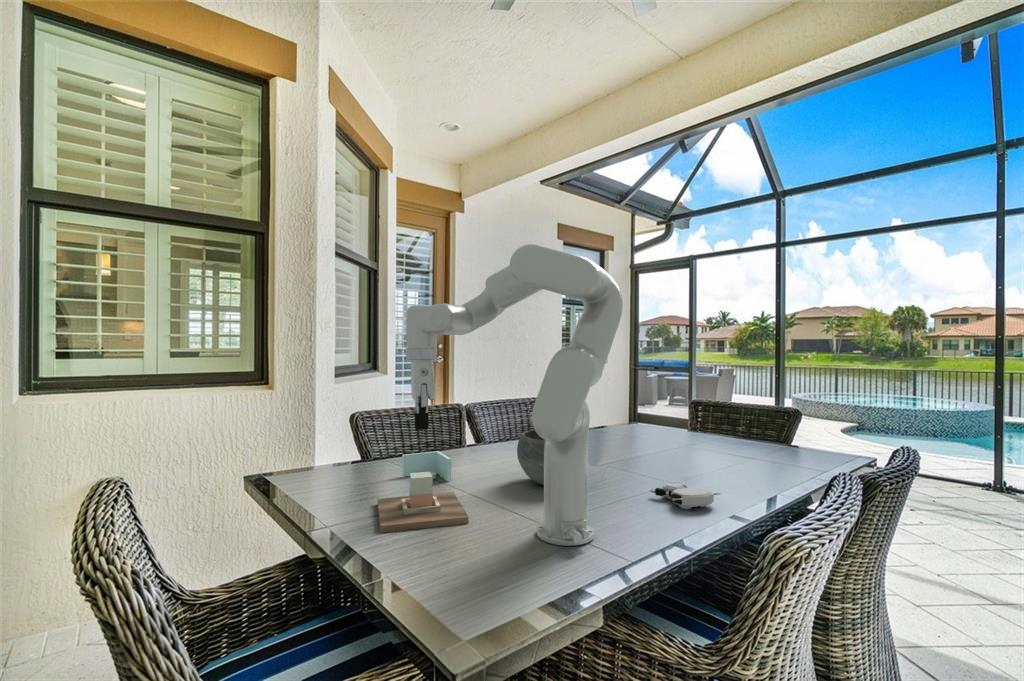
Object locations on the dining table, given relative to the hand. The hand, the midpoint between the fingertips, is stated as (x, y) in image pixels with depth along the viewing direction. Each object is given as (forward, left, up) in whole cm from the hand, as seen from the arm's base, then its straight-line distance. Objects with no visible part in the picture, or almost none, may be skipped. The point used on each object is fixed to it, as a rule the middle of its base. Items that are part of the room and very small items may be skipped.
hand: (421, 429), depth 120 cm
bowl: (+15, -41, -21) cm, 48 cm away
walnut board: (0, 0, -21) cm, 21 cm away
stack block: (0, 0, -19) cm, 19 cm away
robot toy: (-12, -68, -21) cm, 72 cm away
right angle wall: (+31, -5, -22) cm, 38 cm away
